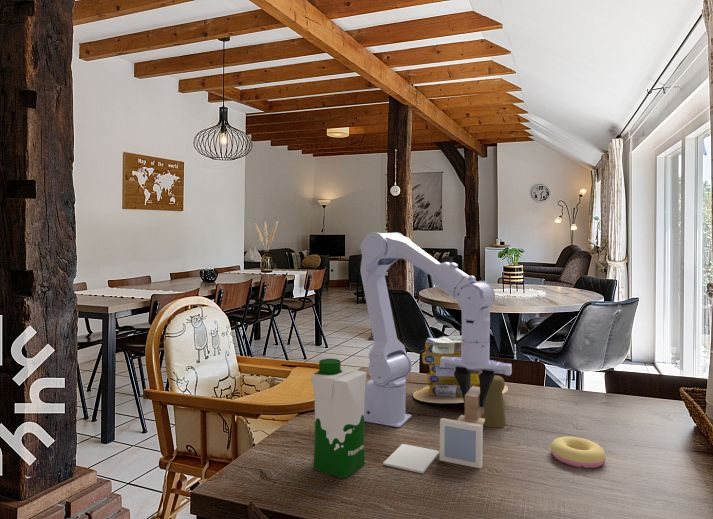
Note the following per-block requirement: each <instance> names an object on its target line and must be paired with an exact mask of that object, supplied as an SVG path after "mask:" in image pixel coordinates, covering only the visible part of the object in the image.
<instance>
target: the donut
mask: <svg viewBox="0 0 713 519" xmlns="http://www.w3.org/2000/svg"><path fill="white" fill-rule="evenodd" d="M550 452H551V454H552V456H553V457H554V458H555V459H556V460H558V461H559V462H562V463H564V464H565V465H568V466H571V467H575V468H580V469H581V468H582V469H596V468H599V467H601V466H602V465H603V464H604V463H605V462H606V458H607V455H606V452H605V450H604V449H603V448H602V446H600V445H599V444H598V443H596V442H594V441H591V440H589V439H587V438H583V437H579V436H560V437H557V438H555V439H554V440H552V442H551V444H550Z"/></svg>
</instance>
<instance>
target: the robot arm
mask: <svg viewBox="0 0 713 519" xmlns="http://www.w3.org/2000/svg"><path fill="white" fill-rule="evenodd" d="M359 247H360V251H361V262H360V268H359V269H360V270H359V271H360V277H361V281H362V286H363V292H364V297H365V302H366V307H367V312H368V318H369V323H370V327H371V332H372V333H371V334H372V338H373V345H372V347H371V349H370V351H369V353H368V360H369V364H368V375H369V377H370V379H369V380H368V381H366V385H365V394H364V422H366V423H371V424H379V425H384V426H389V427H394V428H400V427H402V426H403V425H404V424H405V423H406V422H407V421H408V420H410V418H411V417H412V414H409V413H406V389H407V388H406V387H407V386H406V383H407V382H406V381H407V377H408V375H410V373H411V371H412V367H413V366H412V360H411V358H410V356H409V355H408V353H407V352H406V351H407V350H406V346H405V344H403V343H402V342H401V341H400V340H399V339H398V337H397V331H396V326H395V320H394V316H393V310H392V305H391V301H390V300H391V299H390V295H389V290H388V286H387V281H386V272H387V271H388V270H389V268H390V267H391V265H393V264H394V263H396V262H397V261H398V260H399V259H401V260H402V259H403V260H405V261H407V262H408V263H410V264H411V265H413V266H415V267H417V268H418V269H420V270H421V271H423V272H425V273H427V274H428V275H429V276H431V279H432V280H431V281H432V283H433V285H434V286H436V287H437V288H439V289H440V290H442V291H444V293H445V294H448V295H449V296H450V297H452V298H454V299H455V300H456V303H457V304H458V307H459V308H460V310H461V335H462V342H461V357H442V358H440V367H443V368H445V367H450V368H456V370H455V372H454V376H455V378H456V379H457V381H458V384H459V386H460V389H461V392H462V395H463V400H464V402H463V404H464V405H463V406H465V394H466V393H467V392H468V391H469V389H470V377H471V370H475V371H482V373H481V374H480V375H479V382H480V401H479V402H480V407H484V405H485V401H486V396H487V393H488V390H489V387H490V385H491V382H492V380H493V378H494V376H495V375H496V374H502V375H504V376H509V377H510V376H511V375H512V372H513V368H512V363H507V362H501V361H497V360H491V359H490V348H491V347H490V344H491V343H490V342H491V340H490V338H491V337H490V336H491V333H490V332H491V331H490V330H491V329H490V328H491V306H492V305H493V303H494V302H495V299H496V294H495V291H494V288H493V287H492V286H491V285H490V284H489V283H488V282H487V281H485V280H479V281H477V280H476V277H475V276H474V275H469V274H467V273H466V272H464V271H463V270H461V268H460V269H459V268H458V267H459V264H458V263H456V262H449V261H445V262H442V263H441V262H440V261H438V260H437V259H435V258H434V257H433V256H431V254H429V253H427V252H426V251H425V250H424V249H422V248H420V247H419V246H418V245H417V244H415V243H414V242H413V241H412V240H411V238H409V237H407V236H404V235H403V234H402V233H400V232H396V231H394V232H375V231H373V232H370V233H368V234H367V235H366V236H365V237H364V239H363V241H362V242H361V243H360V245H359Z"/></svg>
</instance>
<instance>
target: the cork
mask: <svg viewBox="0 0 713 519" xmlns="http://www.w3.org/2000/svg"><path fill="white" fill-rule="evenodd" d="M505 385H506V382H505V380H504V378H503V376H500V375H496V374H495V376H494V378H493V380H492V382H491V385H490V387H489V390H488V393H487V396H486V401H485V405H484V414H483V415H482V417H481V418H484V419H485V422H484V424H483V427H488V428H494V429H495V428H497V429H498V428H503V427H505V426H507V423H506V422H507V420H506V411H505V404H504V396H503V394H504V393H503V394H502V391H503V389H504V387H505Z"/></svg>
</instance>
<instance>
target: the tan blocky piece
mask: <svg viewBox="0 0 713 519" xmlns="http://www.w3.org/2000/svg"><path fill="white" fill-rule="evenodd" d="M479 401H480V387H475V386H472V387H471V388H470V389H469V391H468V392H467V393H466V394H465V405H464V415H463V414H461V415H459V417H458V418H457V419H456V420H457V421H463V422H469V423H475V424H481V425H483V424H484V422H485V419H484V418H481V417H482V415H483V414H484V407H480V402H479ZM483 426H484V425H483Z"/></svg>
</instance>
